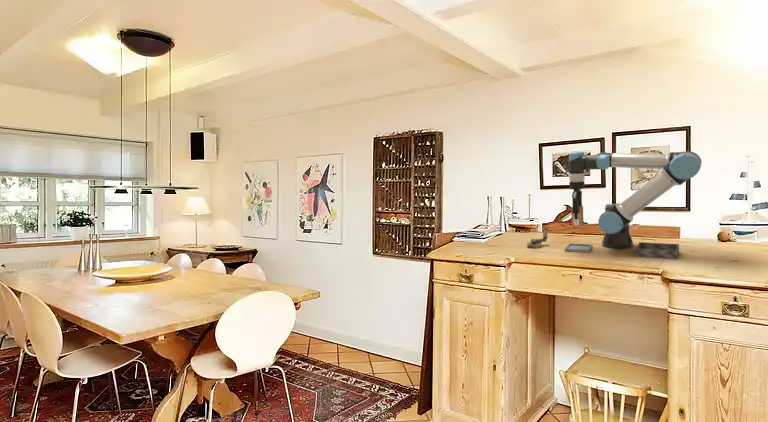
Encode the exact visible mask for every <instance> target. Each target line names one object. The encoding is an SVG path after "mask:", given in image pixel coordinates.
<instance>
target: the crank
mask: <svg viewBox="0 0 768 422" xmlns="http://www.w3.org/2000/svg"><path fill="white" fill-rule="evenodd" d="M548 230H549V227H542V228H541V231H542V238H538V239H537V238H531V239H530V242H531V243H539V242H541V243H545V242H547V239H548V237H549V236H548Z"/></svg>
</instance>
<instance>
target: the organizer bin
mask: <svg viewBox="0 0 768 422" xmlns="http://www.w3.org/2000/svg"><path fill="white" fill-rule="evenodd" d="M679 253H680V243H661V242H660V243H659V242H642V241H640V242H638V244H637V246H636V248H635V257H636V256H639V257H640V258H652V259H653V258H655V259H656V258H657V259H671V260H672V259H673V260H678V258H677V257H679ZM639 257H638V258H639Z"/></svg>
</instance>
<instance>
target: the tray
mask: <svg viewBox="0 0 768 422" xmlns="http://www.w3.org/2000/svg"><path fill="white" fill-rule="evenodd" d="M592 249H593V244H591V243H588V244H587V243H571V242H570V243H568V244H567V246H565V248H564V252H568V253H570V252H572V253H590V251H591V250H592Z"/></svg>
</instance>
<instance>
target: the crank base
mask: <svg viewBox="0 0 768 422" xmlns="http://www.w3.org/2000/svg"><path fill="white" fill-rule="evenodd" d="M526 246H527V248H528V249H540V248H542V247H543V242H539V243H531V241H529V242H527V243H526Z"/></svg>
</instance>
